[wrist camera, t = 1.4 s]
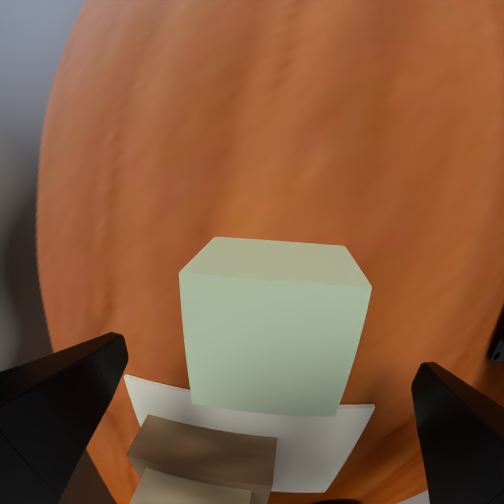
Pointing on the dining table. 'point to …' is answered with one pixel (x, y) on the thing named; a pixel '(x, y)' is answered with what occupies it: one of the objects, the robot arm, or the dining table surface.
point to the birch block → (184, 491)
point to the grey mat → (266, 432)
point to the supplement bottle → (339, 502)
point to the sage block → (272, 325)
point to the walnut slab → (206, 455)
